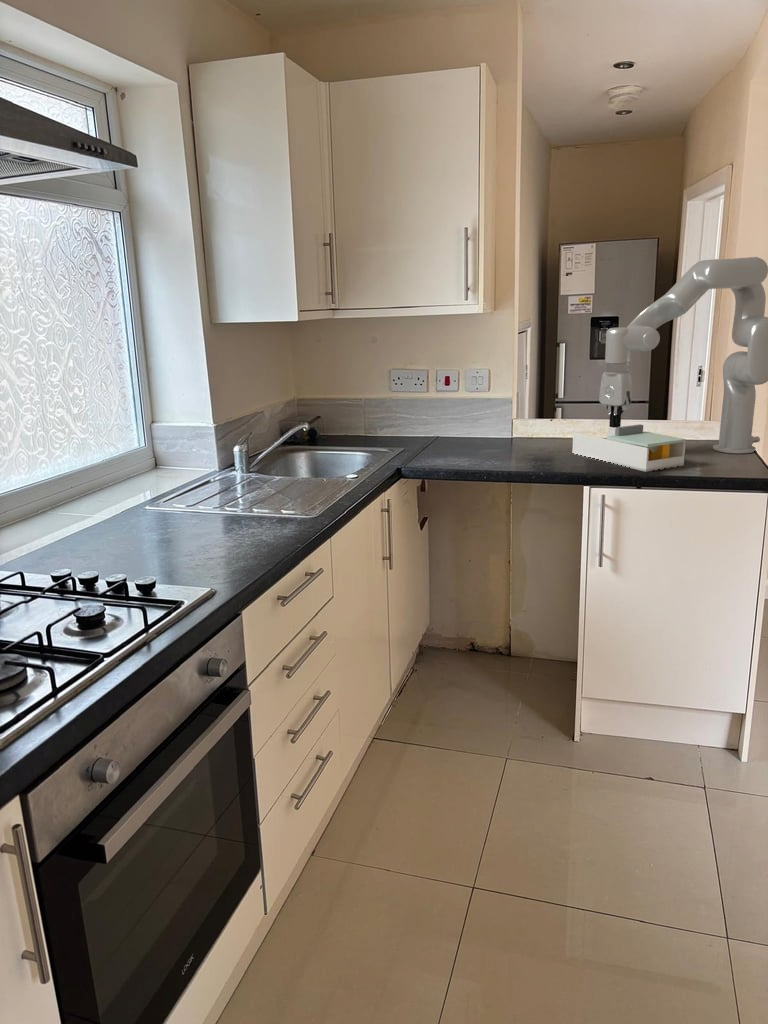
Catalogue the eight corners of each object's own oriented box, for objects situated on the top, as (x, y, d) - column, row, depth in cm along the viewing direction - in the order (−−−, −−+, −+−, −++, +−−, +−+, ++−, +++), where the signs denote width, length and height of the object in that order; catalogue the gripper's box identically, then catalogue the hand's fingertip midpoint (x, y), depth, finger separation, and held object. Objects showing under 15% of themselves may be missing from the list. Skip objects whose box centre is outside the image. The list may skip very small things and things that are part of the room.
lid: (645, 434, 246) (645, 423, 245) (685, 441, 232) (686, 430, 231) (608, 438, 240) (608, 428, 239) (647, 447, 226) (648, 435, 225)
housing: (607, 448, 262) (609, 427, 260) (683, 465, 234) (685, 442, 232) (572, 453, 256) (573, 432, 254) (645, 471, 228) (647, 448, 226)
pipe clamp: (630, 458, 242) (631, 438, 241) (641, 457, 244) (642, 437, 242) (656, 466, 232) (658, 444, 230) (668, 464, 233) (670, 443, 232)
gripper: (591, 367, 247) (589, 425, 252) (625, 371, 235) (622, 431, 240) (609, 366, 251) (607, 422, 256) (644, 369, 238) (641, 428, 243)
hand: (614, 426), depth 248 cm, fingers closed
